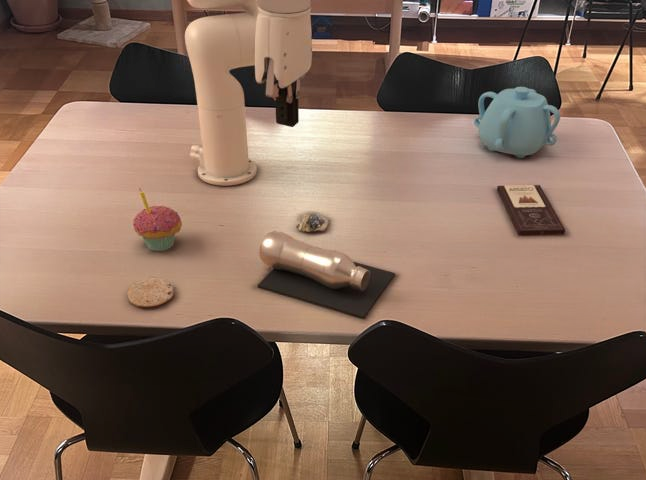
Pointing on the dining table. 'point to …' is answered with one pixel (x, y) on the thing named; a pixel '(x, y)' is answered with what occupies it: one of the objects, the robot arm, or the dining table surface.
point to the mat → (329, 290)
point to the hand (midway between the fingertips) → (287, 123)
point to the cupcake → (157, 225)
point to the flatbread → (150, 292)
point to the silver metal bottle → (312, 262)
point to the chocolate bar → (530, 210)
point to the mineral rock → (312, 223)
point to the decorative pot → (516, 121)
